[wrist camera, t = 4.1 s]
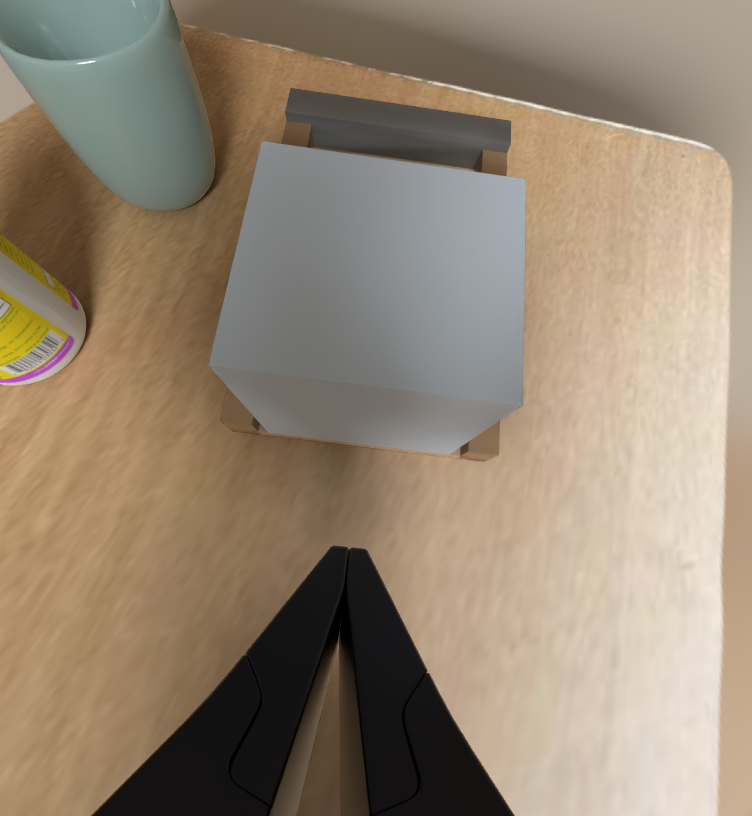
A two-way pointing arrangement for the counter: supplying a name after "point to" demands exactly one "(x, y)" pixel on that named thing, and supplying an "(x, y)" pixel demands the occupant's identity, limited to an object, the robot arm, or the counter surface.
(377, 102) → the chute
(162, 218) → the counter surface
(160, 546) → the counter surface
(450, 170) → the block
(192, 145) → the cup
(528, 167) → the counter surface
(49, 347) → the supplement bottle
